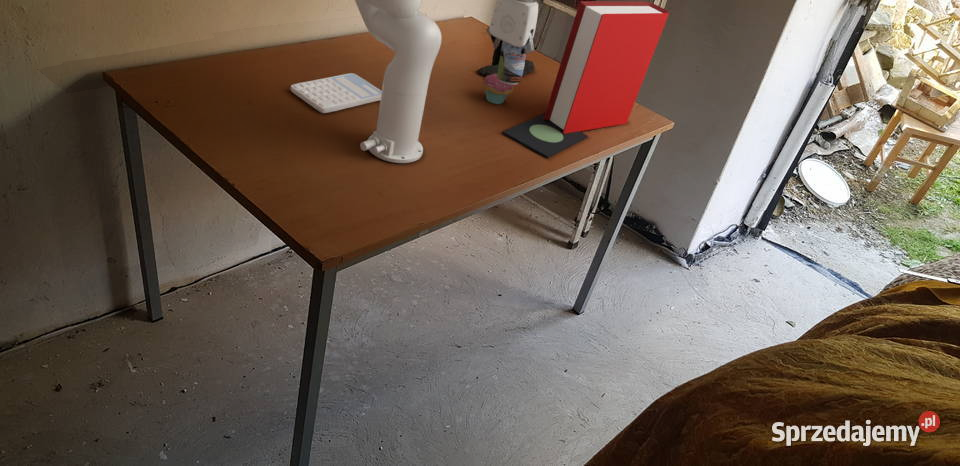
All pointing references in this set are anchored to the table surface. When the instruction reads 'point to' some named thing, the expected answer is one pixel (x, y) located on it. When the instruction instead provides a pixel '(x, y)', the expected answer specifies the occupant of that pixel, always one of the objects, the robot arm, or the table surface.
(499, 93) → the cupcake
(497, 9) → the robot arm
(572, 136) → the desk mat
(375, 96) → the calculator
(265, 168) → the table surface
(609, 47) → the book
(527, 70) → the wood
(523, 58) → the beverage can
